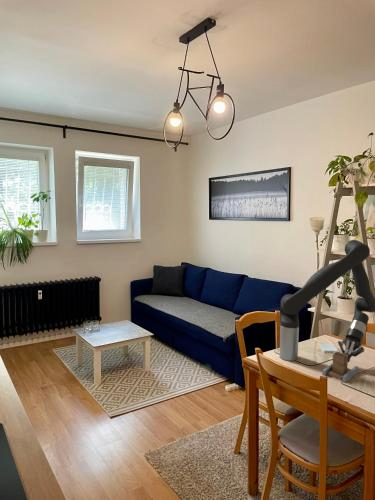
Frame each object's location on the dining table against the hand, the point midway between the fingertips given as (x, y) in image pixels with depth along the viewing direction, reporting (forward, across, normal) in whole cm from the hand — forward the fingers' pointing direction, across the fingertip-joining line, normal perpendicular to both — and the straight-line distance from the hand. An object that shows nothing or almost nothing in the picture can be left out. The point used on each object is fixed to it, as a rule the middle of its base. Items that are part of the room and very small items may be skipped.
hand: (345, 361), depth 177 cm
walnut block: (+8, 0, -2) cm, 8 cm away
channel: (+7, 0, -1) cm, 7 cm away
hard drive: (-12, -18, +19) cm, 29 cm away
